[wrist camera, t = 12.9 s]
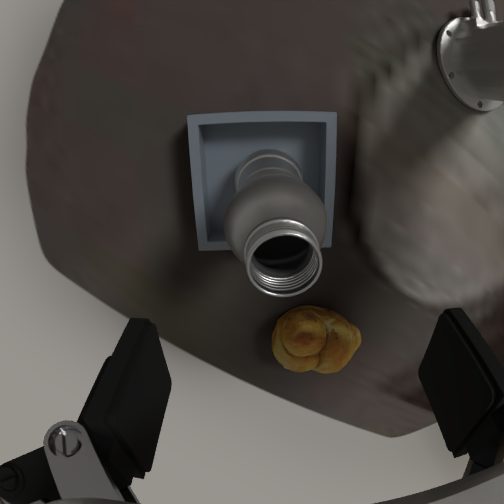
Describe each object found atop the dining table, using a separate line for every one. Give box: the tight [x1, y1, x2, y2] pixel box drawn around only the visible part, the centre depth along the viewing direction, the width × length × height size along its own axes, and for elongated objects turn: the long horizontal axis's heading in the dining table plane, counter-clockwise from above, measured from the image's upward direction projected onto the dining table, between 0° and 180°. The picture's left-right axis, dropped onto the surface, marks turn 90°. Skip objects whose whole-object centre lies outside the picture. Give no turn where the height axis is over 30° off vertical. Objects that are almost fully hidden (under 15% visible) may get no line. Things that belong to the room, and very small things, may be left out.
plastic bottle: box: [224, 149, 328, 297], centre depth 24 cm, size 6×7×20 cm
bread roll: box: [271, 305, 361, 374], centre depth 40 cm, size 13×10×8 cm
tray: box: [187, 111, 337, 251], centre depth 32 cm, size 14×14×4 cm
